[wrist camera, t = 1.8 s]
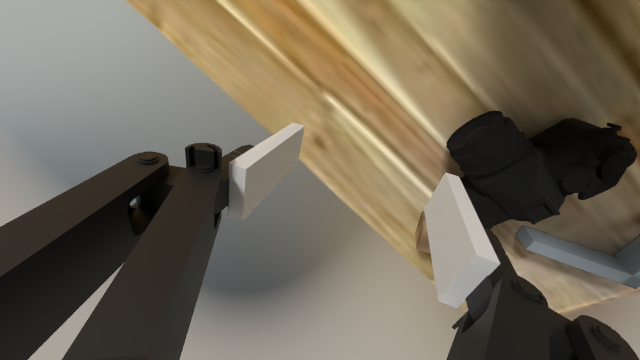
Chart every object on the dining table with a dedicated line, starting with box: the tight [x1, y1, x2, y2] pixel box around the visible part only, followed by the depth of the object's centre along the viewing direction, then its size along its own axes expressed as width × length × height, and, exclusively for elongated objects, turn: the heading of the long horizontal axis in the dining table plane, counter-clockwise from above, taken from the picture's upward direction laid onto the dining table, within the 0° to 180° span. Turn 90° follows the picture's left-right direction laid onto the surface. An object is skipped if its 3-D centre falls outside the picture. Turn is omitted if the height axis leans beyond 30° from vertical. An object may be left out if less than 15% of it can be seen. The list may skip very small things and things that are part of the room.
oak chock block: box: [416, 211, 431, 253], centre depth 33 cm, size 4×6×4 cm, turn 87°
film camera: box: [446, 111, 637, 229], centre depth 24 cm, size 15×10×9 cm, turn 136°
